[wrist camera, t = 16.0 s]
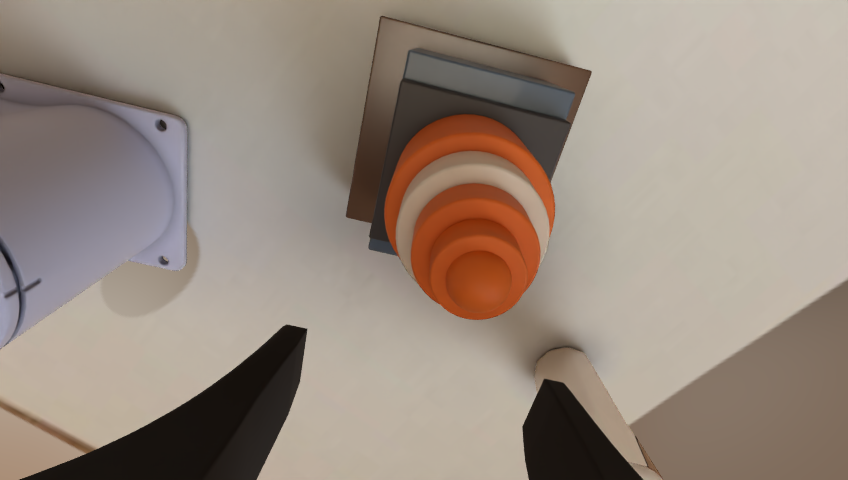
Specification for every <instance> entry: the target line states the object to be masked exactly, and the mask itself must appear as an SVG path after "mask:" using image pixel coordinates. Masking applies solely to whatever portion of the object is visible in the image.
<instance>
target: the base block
mask: <svg viewBox="0 0 848 480" xmlns="http://www.w3.org/2000/svg"><path fill="white" fill-rule="evenodd" d="M415 48H420V49H424V50H428V51H432V52H436V53H440V54H443V55H447V56H451V57H455V58H459V59H463V60H466V61H470V62H474V63H478V64H482V65H486V66H490V67H493V68H497V69H501V70H505V71H509V72H513V73H517V74H520V75H524V76H528V77H532V78H536V79H540V80H544V81H547V82H549V83H552V84H554V85H557V86H560V87H562V88H565V89H568V90H570V91H573V92H574V93H575V97H574V99H573V102H572V105H571V108H570V110H569V113H568V116H567V119H566V120H567V121H568V122H570V123H571V126H572V124H573V121H574V118H575V116H576V113H577V110H578V108H579V105H580V102H581V100H582V97H583V94H584V92H585V89H586V86H587V84H588V81H589V78H590V76H591V73H592V72H591V71H590V70H586V69H582V68H578V67H575V66H571V65H567V64H563V63H559V62H556V61H552V60H548V59H544V58H540V57H537V56H533V55H529V54H525V53H521V52H518V51H514V50H510V49H506V48H502V47H499V46H495V45H491V44H487V43H483V42H480V41H476V40H472V39H468V38H464V37H461V36H457V35H453V34H449V33H445V32H442V31H438V30H434V29H430V28H426V27H423V26H419V25H415V24H411V23H407V22H404V21H400V20H396V19H392V18H388V17H385V16H381V17H380V21H379V27H378V33H377V39H376V44H375V50H374V56H373V62H372V68H371V73H370V79H369V85H368V91H367V97H366V102H365V108H364V114H363V120H362V125H361V131H360V137H359V143H358V149H357V154H356V160H355V166H354V172H353V178H352V183H351V189H350V195H349V201H348V206H347V212H346V217H347V218H352V219H356V220H360V221H365V222H369V223H372V220H373V215H374V210H375V205H376V200H377V195H378V190H379V185H380V180H381V175H382V170H383V165H384V160H385V155H386V150H387V146H388V141H389V136H390V131H391V126H392V121H393V116H394V111H395V106H396V101H397V96H398V91H399V86H400V82H401V80H402V79H403V74H404V69H405V64H406V59H407V54H408V51H409V50H412V49H415ZM571 126H570V128H569V131H568V134H569V132H570V129H571ZM568 134H567V136H566V139H565V142H566V140H567V137H568ZM565 142H564V144H563V147H562V150H563V148H564V145H565ZM562 150H561V153H562ZM561 153H560V155H559V158H560V156H561ZM559 158H558V161H559ZM558 161H557V163H556V166H557V164H558ZM556 166H555V169H556ZM555 169H554V171H553V174H554V172H555ZM553 174H552V177H553ZM552 177H551V179H550V182H551V180H552Z"/></svg>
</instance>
